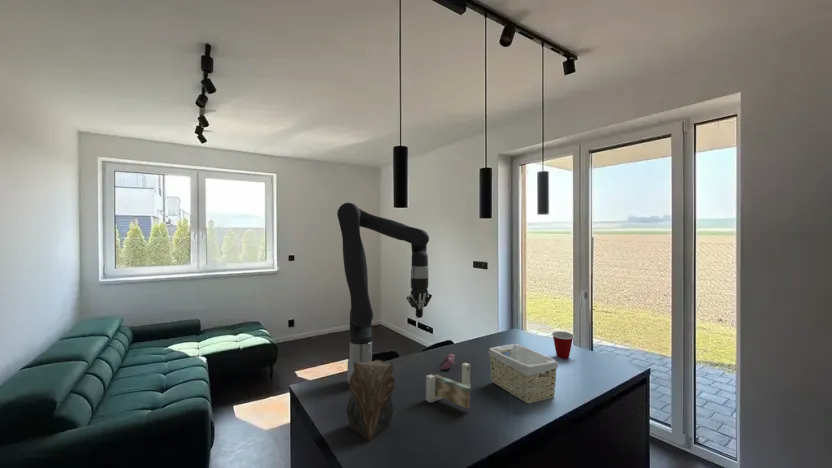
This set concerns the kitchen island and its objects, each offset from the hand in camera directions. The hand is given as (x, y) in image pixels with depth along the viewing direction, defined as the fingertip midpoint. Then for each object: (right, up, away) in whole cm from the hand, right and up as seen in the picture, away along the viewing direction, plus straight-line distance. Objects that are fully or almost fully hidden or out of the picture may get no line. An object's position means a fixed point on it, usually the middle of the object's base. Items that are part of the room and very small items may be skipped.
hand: (419, 317), depth 146 cm
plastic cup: (+75, -29, +31) cm, 86 cm away
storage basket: (+41, -28, -8) cm, 50 cm away
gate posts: (+12, -27, -11) cm, 31 cm away
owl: (-16, -26, -37) cm, 49 cm away
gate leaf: (+11, -25, -21) cm, 35 cm away
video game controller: (+14, -28, +17) cm, 35 cm away
